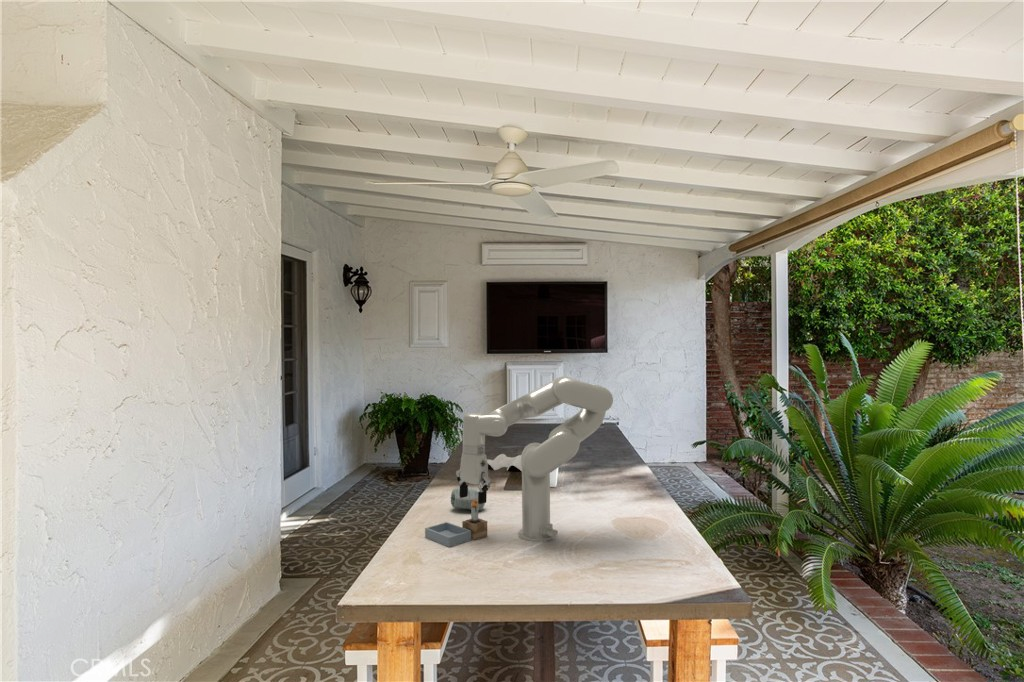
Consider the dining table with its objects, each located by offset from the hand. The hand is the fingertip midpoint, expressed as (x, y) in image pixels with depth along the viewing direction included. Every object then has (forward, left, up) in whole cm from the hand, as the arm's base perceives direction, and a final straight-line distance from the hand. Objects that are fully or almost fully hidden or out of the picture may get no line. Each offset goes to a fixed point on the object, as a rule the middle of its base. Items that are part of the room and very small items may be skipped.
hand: (472, 500), depth 191 cm
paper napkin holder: (+60, -73, -13) cm, 96 cm away
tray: (+4, +8, -12) cm, 15 cm away
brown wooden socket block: (0, 0, -12) cm, 12 cm away
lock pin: (0, 0, -10) cm, 10 cm away
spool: (+25, -16, -12) cm, 32 cm away
